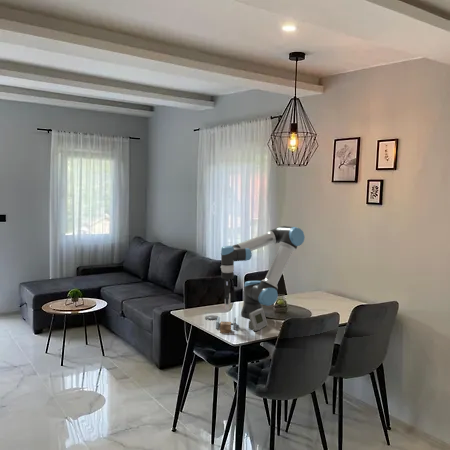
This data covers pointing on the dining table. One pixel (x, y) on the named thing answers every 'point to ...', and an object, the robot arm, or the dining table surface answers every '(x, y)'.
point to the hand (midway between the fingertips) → (227, 306)
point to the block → (225, 327)
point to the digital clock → (257, 320)
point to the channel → (231, 323)
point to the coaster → (211, 317)
